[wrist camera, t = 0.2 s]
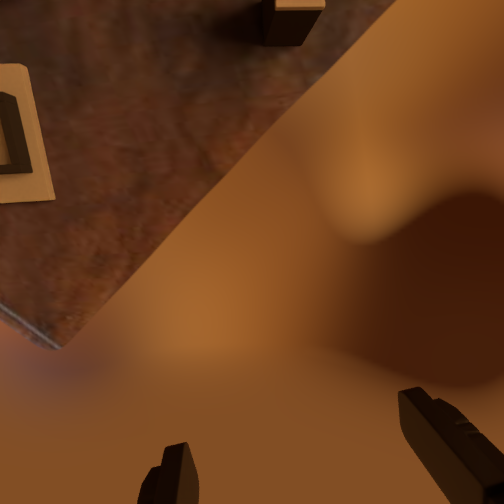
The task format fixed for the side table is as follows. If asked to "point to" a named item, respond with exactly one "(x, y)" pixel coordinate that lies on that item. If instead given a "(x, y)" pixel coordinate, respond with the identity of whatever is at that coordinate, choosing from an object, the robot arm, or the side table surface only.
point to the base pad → (21, 141)
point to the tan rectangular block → (289, 20)
